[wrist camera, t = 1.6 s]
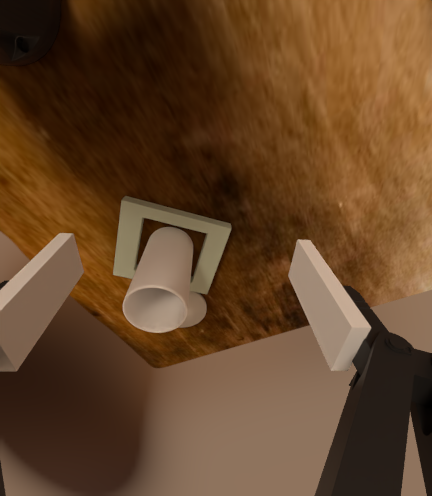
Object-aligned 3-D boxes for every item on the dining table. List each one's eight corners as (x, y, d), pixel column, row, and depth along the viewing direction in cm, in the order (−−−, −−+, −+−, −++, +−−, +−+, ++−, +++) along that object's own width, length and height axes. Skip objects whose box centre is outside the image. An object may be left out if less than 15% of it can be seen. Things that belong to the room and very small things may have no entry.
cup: (197, 261, 48) (194, 327, 34) (156, 268, 48) (135, 337, 34) (187, 222, 43) (177, 281, 30) (141, 231, 44) (111, 292, 30)
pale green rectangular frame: (116, 268, 48) (112, 274, 46) (125, 195, 41) (121, 200, 39) (207, 287, 51) (207, 294, 49) (230, 223, 44) (231, 228, 42)
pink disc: (150, 319, 55) (150, 322, 55) (159, 281, 50) (159, 284, 49) (199, 328, 57) (199, 331, 56) (212, 292, 52) (212, 295, 51)
